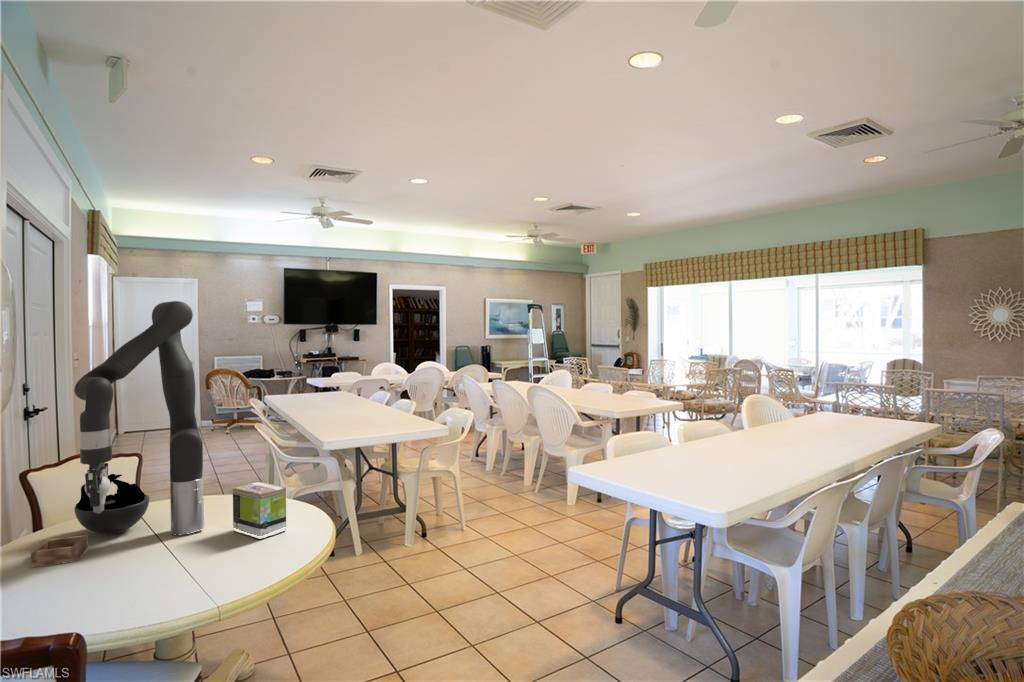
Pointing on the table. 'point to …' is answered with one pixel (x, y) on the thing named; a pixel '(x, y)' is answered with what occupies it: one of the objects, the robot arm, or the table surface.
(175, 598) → the table surface
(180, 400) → the robot arm
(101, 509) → the lightbulb
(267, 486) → the tea box
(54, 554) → the wooden tray
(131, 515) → the coal bowl
